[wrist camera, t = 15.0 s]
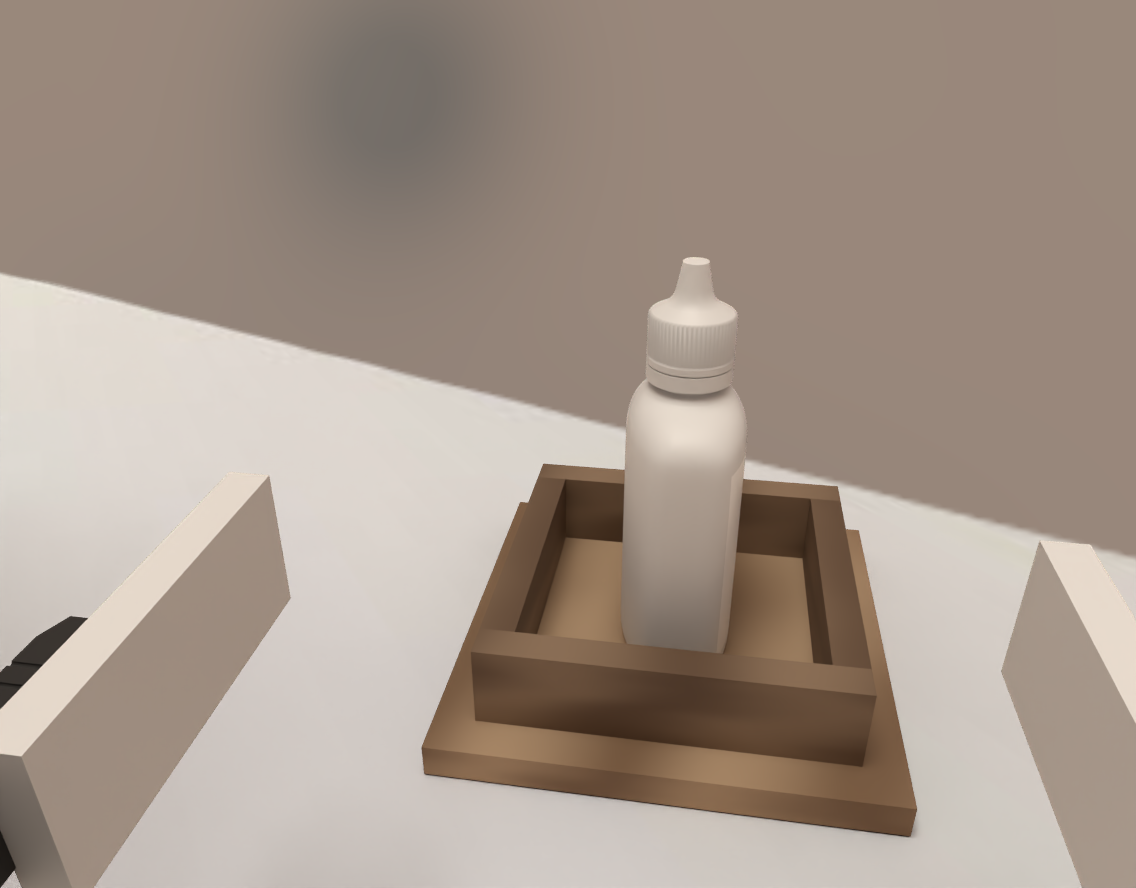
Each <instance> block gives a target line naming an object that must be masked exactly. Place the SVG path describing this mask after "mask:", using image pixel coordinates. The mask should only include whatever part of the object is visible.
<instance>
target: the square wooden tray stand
mask: <svg viewBox="0 0 1136 888" xmlns="http://www.w3.org/2000/svg"><path fill="white" fill-rule="evenodd" d="M624 481H625V470H618V469H605V468H592V467H579V466H566V465H553V464H543V466H542V469H541V471H540V474H539V476H538V479H537V482H536V484H535V487H534V489H533V492H532V494H531V497H530V500H529V502H528V503H525V502H520V504H519V507H518V509H517V511H516V514H515V516H514V519H513V521H512V524H511V526H510V529H509V531H508V534H507V536H506V539H505V541H504V544H503V546H502V549H501V551H500V554H499V556H498V559H497V561H496V564H495V566H494V569H493V571H492V574H491V576H490V579H489V581H488V584H487V586H486V589H485V591H484V593H483V596H482V598H481V601H480V603H479V606H478V608H477V611H476V613H475V616H474V618H473V621H472V623H471V626H470V628H469V631H468V633H467V636H466V638H465V641H464V643H463V646H462V648H461V651H460V653H459V656H458V658H457V661H456V663H455V666H454V668H453V671H452V673H451V676H450V678H449V680H448V683H447V685H446V688H445V690H444V693H443V695H442V698H441V700H440V703H439V705H438V708H437V710H436V713H435V715H434V718H433V720H432V723H431V725H430V728H429V730H428V733H427V735H426V738H425V740H424V743H423V745H422V756H423V765H424V774H431V775H439V776H447V777H455V778H462V779H470V780H478V781H486V782H493V783H501V784H509V785H517V786H524V787H532V788H540V789H547V790H555V791H563V792H571V793H578V794H586V795H594V796H602V797H609V798H617V799H625V800H633V801H640V802H648V803H656V804H664V805H671V806H679V807H687V808H694V809H702V810H710V811H718V812H725V813H733V814H741V815H749V816H756V817H764V818H772V819H780V820H787V821H795V822H803V823H811V824H818V825H826V826H834V827H842V828H849V829H857V830H865V831H872V832H880V833H888V834H896V835H903V836H911V832H912V828H913V824H914V820H915V816H916V812H917V806H916V801H915V797H914V792H913V787H912V782H911V778H910V773H909V768H908V763H907V759H906V754H905V749H904V744H903V739H902V735H901V730H900V725H899V720H898V716H897V711H896V706H895V701H894V697H893V692H892V687H891V682H890V678H889V673H888V668H887V663H886V658H885V654H884V649H883V644H882V639H881V635H880V630H879V625H878V620H877V616H876V611H875V606H874V601H873V597H872V592H871V587H870V582H869V577H868V573H867V568H866V563H865V558H864V554H863V549H862V544H861V539H860V535H859V530H848V529H846V528H845V523H844V518H843V512H842V507H841V502H840V496H839V491H838V486H825V485H812V484H799V483H786V482H773V481H760V480H747V479H743V487H742V497H741V507H740V518H739V528H738V538H737V548H736V559H735V569H734V579H733V589H732V599H731V609H730V619H729V629H728V636H727V642H726V645H725V649H724V652H723V654H721V653H711V652H702V651H692V650H683V649H673V648H664V647H654V646H645V645H635V644H627V643H626V641H625V637H624V634H623V629H622V623H621V582H622V548H623V514H624Z"/></svg>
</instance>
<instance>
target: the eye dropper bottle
mask: <svg viewBox="0 0 1136 888" xmlns="http://www.w3.org/2000/svg"><path fill="white" fill-rule="evenodd" d="M737 324H738V313H737V312H736V311H735V309H734V308H733V307H731V306H730V305H728V304H726V303H724V302H722V301H720V300H718V299H717V298H716V296H715V295H714V291H713V286H712V277H711V269H710V261H709V260H708V259H705V258H699V257H691V258H686V259H684V260H683V263H682V267H681V271H680V275H679V279H678V283H677V287H676V290H675V292H674V294H673V295H672V296H671V297H670V298H668V299H665V300H662V301H659V302H657V303H656V304H654V305H653V306H652V307H651V308H650V309H649V311H648V330H647V331H648V332H647V354H646V378H647V379H645V380H644V381H643V382H642V383H641V384H640V385H639V386H638V388H637V390H636V391H635V393H634V394H633V397H632V399H631V401H630V405H629V409H628V413H627V424H626V448H625V481H624V514H623V548H622V582H621V623H622V629H623V634H624V637H625V641H626V643H627V644H635V645H645V646H654V647H664V648H673V649H683V650H692V651H702V652H711V653H721V654H723V652H724V649H725V645H726V642H727V636H728V629H729V619H730V609H731V599H732V589H733V579H734V569H735V559H736V548H737V538H738V528H739V518H740V507H741V497H742V487H743V476H744V466H745V455H746V443H747V422H746V416H745V412H744V408H743V405H742V403H741V400H740V398H739V396H738V394H737V392H736V391H735V390H734V388H733V387H732V386H731V385H730V384H731V383H732V381H733V371H734V360H735V348H736V336H737Z"/></svg>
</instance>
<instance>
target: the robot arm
mask: <svg viewBox="0 0 1136 888" xmlns="http://www.w3.org/2000/svg"><path fill="white" fill-rule="evenodd" d="M289 600H290V592H289V586H288V580H287V575H286V569H285V563H284V558H283V552H282V546H281V540H280V535H279V529H278V523H277V517H276V512H275V506H274V500H273V495H272V489H271V483H270V477H269V475H258V474H247V473H235V472H229V473H228V474H227V475H226V476H225V477H224V478H223V479H222V480H221V481H220V482H219V483H218V484H217V485H216V486H215V487H214V488H213V489H212V490H211V491H210V493H209V494H208V495H207V496H206V497H205V498H204V499H203V500H202V501H201V502H200V503H199V504H198V505H197V506H196V507H195V508H194V509H193V510H192V511H191V512H190V513H189V514H188V515H187V516H186V517H185V518H184V519H183V521H182V522H181V523H180V524H179V525H178V526H177V527H176V528H175V529H174V530H173V531H172V532H171V533H170V534H169V535H168V536H167V537H166V538H165V539H164V540H163V541H162V542H161V543H160V544H159V545H158V546H157V547H156V549H155V550H154V551H153V552H152V553H151V554H150V555H149V556H148V557H147V558H146V559H145V560H144V561H143V562H142V563H141V564H140V565H139V566H138V567H137V568H136V569H135V570H134V571H133V572H132V573H131V574H130V575H129V576H128V578H127V579H126V580H125V581H124V582H123V583H122V584H121V585H120V586H119V587H118V588H117V589H116V590H115V591H114V592H113V593H112V594H111V595H110V596H109V597H108V598H107V599H106V600H105V601H104V602H103V603H102V604H101V606H100V607H99V608H98V609H97V610H96V611H95V612H94V613H93V614H92V615H91V616H90V617H89V618H82V617H72V616H70V617H68V618H67V619H65V620H63V621H62V622H60V623H58V624H57V625H55V626H53V627H52V628H50V629H48V630H47V631H45V632H43V633H42V634H40V635H38V636H36V637H35V638H34V639H33V640H32V641H31V642H30V643H29V644H28V645H27V646H26V647H25V648H24V649H23V650H22V651H21V652H20V653H19V654H18V655H17V656H16V657H15V658H14V659H13V660H12V664H11V666H6V667H5V668H4V669H3V670H2V671H1V672H0V888H1V886H2V885H3V884H4V883H5V881H6V880H7V879H8V877H9V876H10V875H11V874H12V872H13V871H15V873H16V875H17V878H18V880H19V882H20V885H21V887H22V888H94V886H95V885H96V883H97V882H98V880H99V879H100V877H101V876H102V874H103V873H104V871H105V870H106V868H107V867H108V866H109V864H110V863H111V861H112V860H113V858H114V857H115V855H116V854H117V852H118V851H119V849H120V848H121V846H122V845H123V843H124V842H125V841H126V839H127V838H128V836H129V835H130V833H131V832H132V830H133V829H134V827H135V826H136V824H137V823H138V821H139V820H140V819H141V817H142V816H143V814H144V813H145V811H146V810H147V808H148V807H149V805H150V804H151V802H152V801H153V799H154V798H155V797H156V795H157V794H158V792H159V791H160V789H161V788H162V786H163V785H164V783H165V782H166V780H167V779H168V777H169V776H170V775H171V773H172V772H173V770H174V769H175V767H176V766H177V764H178V763H179V761H180V760H181V758H182V757H183V755H184V754H185V752H186V751H187V750H188V748H189V747H190V745H191V744H192V742H193V741H194V739H195V738H196V736H197V735H198V733H199V732H200V730H201V729H202V728H203V726H204V725H205V723H206V722H207V720H208V719H209V717H210V716H211V714H212V713H213V711H214V710H215V708H216V707H217V706H218V704H219V703H220V701H221V700H222V698H223V697H224V695H225V694H226V692H227V691H228V689H229V688H230V686H231V685H232V684H233V682H234V681H235V679H236V678H237V676H238V675H239V673H240V672H241V670H242V669H243V667H244V666H245V664H246V663H247V661H248V660H249V659H250V657H251V656H252V654H253V653H254V651H255V650H256V648H257V647H258V645H259V644H260V642H261V641H262V639H263V638H264V637H265V635H266V634H267V632H268V631H269V629H270V628H271V626H272V625H273V623H274V622H275V620H276V619H277V617H278V616H279V615H280V613H281V612H282V610H283V609H284V607H285V606H286V604H287V603H288V601H289ZM1001 672H1002V675H1003V678H1004V680H1005V683H1006V686H1007V688H1008V691H1009V694H1010V696H1011V699H1012V702H1013V704H1014V707H1015V710H1016V712H1017V715H1018V718H1019V720H1020V723H1021V726H1022V728H1023V731H1024V734H1025V736H1026V739H1027V742H1028V744H1029V747H1030V750H1031V752H1032V755H1033V758H1034V760H1035V763H1036V766H1037V768H1038V771H1039V774H1040V776H1041V779H1042V782H1043V784H1044V787H1045V790H1046V792H1047V795H1048V798H1049V800H1050V803H1051V806H1052V808H1053V811H1054V814H1055V816H1056V819H1057V822H1058V824H1059V827H1060V830H1061V832H1062V835H1063V838H1064V840H1065V843H1066V846H1067V848H1068V851H1069V854H1070V856H1071V859H1072V862H1073V864H1074V867H1075V870H1076V872H1077V875H1078V878H1079V880H1080V883H1081V886H1082V888H1136V619H1135V617H1134V616H1133V614H1132V612H1131V611H1130V609H1129V608H1128V606H1127V604H1126V603H1125V601H1124V599H1123V598H1122V596H1121V594H1120V593H1119V591H1118V589H1117V588H1116V586H1115V584H1114V583H1113V581H1112V579H1111V578H1110V576H1109V574H1108V573H1107V571H1106V570H1105V568H1104V566H1103V565H1102V563H1101V561H1100V560H1099V558H1098V556H1097V555H1096V553H1095V551H1094V550H1093V548H1092V546H1091V545H1088V544H1076V543H1064V542H1053V541H1041V540H1040V541H1039V545H1038V548H1037V551H1036V555H1035V558H1034V562H1033V565H1032V568H1031V572H1030V575H1029V579H1028V582H1027V585H1026V589H1025V592H1024V596H1023V599H1022V602H1021V606H1020V609H1019V613H1018V616H1017V619H1016V623H1015V626H1014V630H1013V633H1012V636H1011V640H1010V643H1009V647H1008V650H1007V653H1006V657H1005V660H1004V664H1003V667H1002V670H1001Z"/></svg>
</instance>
